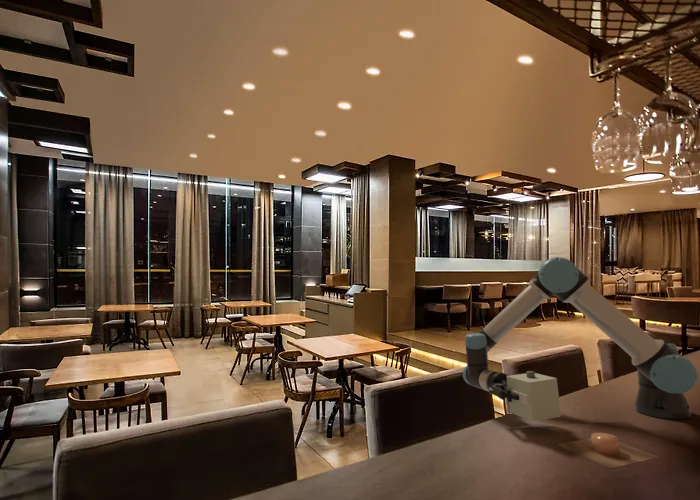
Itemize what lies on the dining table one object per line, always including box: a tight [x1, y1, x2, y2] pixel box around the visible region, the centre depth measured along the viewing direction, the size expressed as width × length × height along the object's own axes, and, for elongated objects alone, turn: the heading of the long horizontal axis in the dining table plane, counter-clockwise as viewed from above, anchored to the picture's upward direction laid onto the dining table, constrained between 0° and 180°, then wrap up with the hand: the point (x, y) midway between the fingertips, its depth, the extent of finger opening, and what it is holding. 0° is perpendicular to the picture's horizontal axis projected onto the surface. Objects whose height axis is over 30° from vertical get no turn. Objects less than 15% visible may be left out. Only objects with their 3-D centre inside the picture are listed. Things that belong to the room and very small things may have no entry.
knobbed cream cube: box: [507, 370, 562, 422], centre depth 124 cm, size 10×10×13 cm
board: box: [557, 437, 660, 470], centre depth 106 cm, size 16×16×1 cm
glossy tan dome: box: [590, 432, 619, 455], centre depth 107 cm, size 6×6×4 cm
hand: (543, 397), depth 120 cm, fingers closed on knobbed cream cube, 10 cm apart
